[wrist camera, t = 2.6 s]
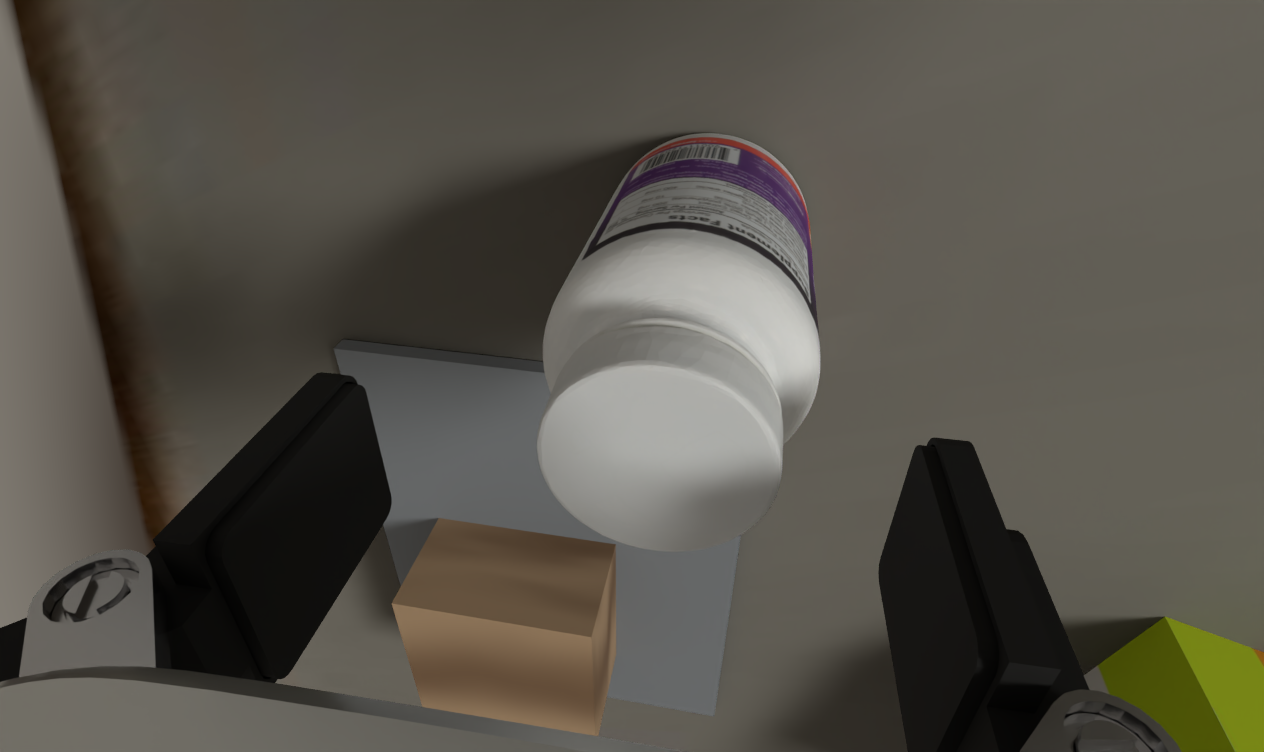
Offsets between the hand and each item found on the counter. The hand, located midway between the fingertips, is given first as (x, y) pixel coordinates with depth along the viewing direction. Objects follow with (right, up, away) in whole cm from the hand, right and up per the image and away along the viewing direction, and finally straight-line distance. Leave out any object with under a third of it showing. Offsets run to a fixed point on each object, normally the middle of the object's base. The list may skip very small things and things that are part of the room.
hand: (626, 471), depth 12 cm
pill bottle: (+2, +6, +7) cm, 9 cm away
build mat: (-3, -5, +16) cm, 17 cm away
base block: (-4, -7, +17) cm, 18 cm away
